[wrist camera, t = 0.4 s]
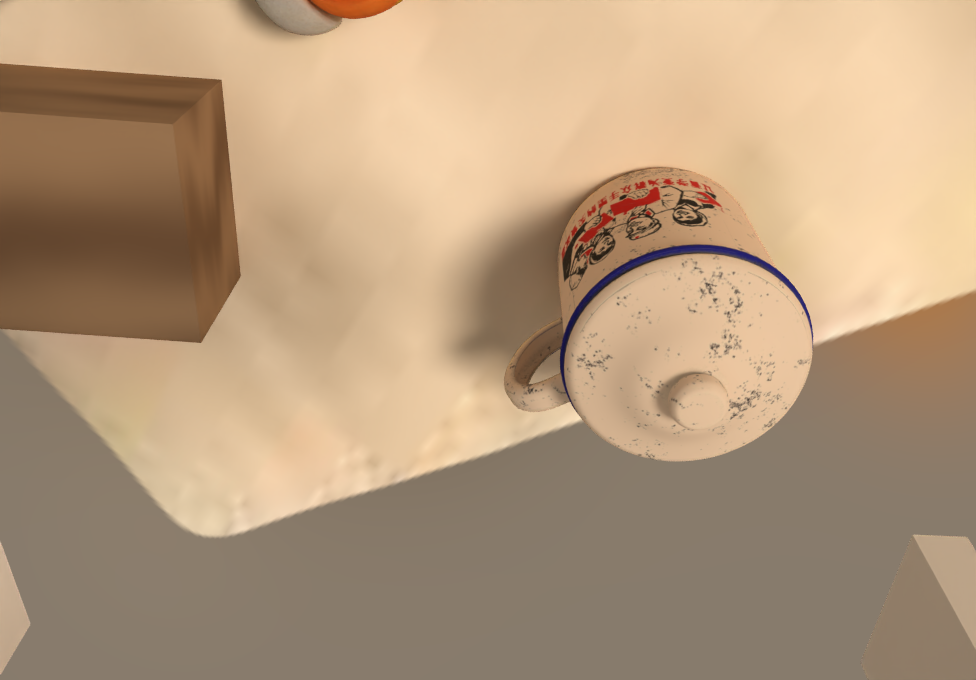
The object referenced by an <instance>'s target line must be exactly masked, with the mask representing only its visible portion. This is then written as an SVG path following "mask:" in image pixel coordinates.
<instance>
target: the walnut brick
mask: <svg viewBox="0 0 976 680" xmlns="http://www.w3.org/2000/svg"><path fill="white" fill-rule="evenodd" d="M240 276H241V275H240V265H239V255H238V245H237V234H236V224H235V214H234V204H233V193H232V183H231V173H230V163H229V153H228V142H227V132H226V122H225V112H224V101H223V91H222V81H221V80H216V79H202V78H189V77H175V76H161V75H148V74H134V73H120V72H107V71H93V70H80V69H66V68H52V67H39V66H25V65H11V64H0V329H12V330H27V331H41V332H55V333H69V334H83V335H98V336H112V337H126V338H140V339H155V340H169V341H183V342H197V343H201V342H202V340H203V339H204V337H205V335H206V334H207V332H208V330H209V329H210V327H211V325H212V324H213V322H214V320H215V319H216V317H217V315H218V313H219V312H220V310H221V308H222V307H223V305H224V303H225V302H226V300H227V298H228V297H229V295H230V293H231V292H232V290H233V288H234V286H235V285H236V283H237V281H238V280H239V278H240Z"/></svg>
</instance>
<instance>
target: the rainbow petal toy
mask: <svg viewBox="0 0 976 680" xmlns="http://www.w3.org/2000/svg"><path fill="white" fill-rule="evenodd" d="M401 1H402V0H256V2H257V3H258V5H259V6H260V8H261V9H262V10H263V12H264V13H265V14H266V15H267V16H268V17H269V18H270V19H271V20H272V21H273V22H274V23H275V24H277V25H278V26H280V27H281V28H283V29H285V30H287V31H289V32H292V33H296V34H300V35H319V34H323V33H326V32H329V31H331V30H333V29H335V28H337V27H338V26H339V25H340V24H341V22H342V17H343V18H349V19H358V18H366V17H371V16H374V15H377V14H379V13H382V12H384V11H386V10H388V9H390V8H392V7H393V6H394V5H397V4H398V3H400V2H401Z"/></svg>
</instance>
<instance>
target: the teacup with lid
mask: <svg viewBox="0 0 976 680" xmlns="http://www.w3.org/2000/svg"><path fill="white" fill-rule="evenodd" d="M557 265H558V279H559V290H560V300H561V311H562V317H561V318H559V319H557V320H555V321H553V322H552V323H550V324H548V325H546V326H545V327H543V328H541V329H540V330H538V331H537V332H536V333H534V334H533V335H532V336H530V337H529V338H528V339H527V340H526V341H525V342H524V343H523V344H522V345H521V346H520V348H519V349H518V350H517V352H516V353H515V354H514V356H513V357H512V359H511V361H510V363H509V365H508V367H507V370H506V373H505V378H504V387H505V391H506V393H507V395H508V397H509V398H510V400H511V401H512V402H513V404H514V405H515V406H516V407H518V408H519V409H521V410H525V411H530V412H540V411H545V410H549V409H553V408H555V407H558V406H561V405H563V404H565V403H567V402H571V404H572V406H573V407H574V409H575V410H576V412H577V413H578V414H579V416H580V417H581V418H582V420H583V421H584V422H585V423H586V424H587V425H588V426H589V427H590V429H592V430H593V431H594V432H595V433H596V434H597V435H599V436H600V437H601V438H603V439H604V440H605V441H607V442H609V443H610V444H612V445H614V446H615V447H618V448H620V449H622V450H624V451H626V452H629V453H631V454H634V455H637V456H641V457H645V458H650V459H655V460H663V461H692V460H700V459H705V458H710V457H714V456H718V455H721V454H724V453H727V452H730V451H732V450H735V449H737V448H740V447H742V446H744V445H746V444H748V443H749V442H751V441H753V440H755V439H756V438H758V437H759V436H761V435H762V434H764V433H765V432H766V431H768V430H769V429H770V428H771V427H773V426H774V425H775V424H776V423H777V422H778V421H779V420H780V419H781V418H782V417H783V416H784V415H785V414H786V413H787V411H788V410H789V409H790V407H791V406H792V405H793V403H794V402H795V400H796V399H797V397H798V395H799V394H800V392H801V390H802V388H803V386H804V384H805V381H806V378H807V376H808V373H809V369H810V365H811V359H812V350H813V331H812V324H811V320H810V316H809V313H808V310H807V308H806V305H805V303H804V301H803V299H802V297H801V295H800V294H799V293H798V291H797V290H796V288H795V287H794V286H793V284H792V283H791V282H790V281H789V280H788V279H787V278H786V277H785V276H784V275H783V274H782V273H781V272H780V271H778V270H777V268H776V267H775V265H774V263H773V261H772V260H771V258H770V256H769V254H768V253H767V251H766V249H765V247H764V246H763V244H762V242H761V240H760V239H759V237H758V235H757V233H756V232H755V230H754V228H753V226H752V225H751V223H750V221H749V219H748V218H747V216H746V214H745V212H744V211H743V209H742V208H741V206H740V205H739V203H738V202H737V201H736V200H735V198H734V197H733V196H732V195H731V194H730V193H729V192H728V191H727V190H725V189H724V188H723V187H722V186H720V185H719V184H717V183H716V182H714V181H712V180H711V179H709V178H707V177H705V176H702V175H700V174H697V173H694V172H691V171H686V170H682V169H674V168H653V169H646V170H640V171H636V172H632V173H629V174H626V175H623V176H621V177H619V178H616V179H614V180H612V181H610V182H609V183H607V184H605V185H603V186H602V187H601V188H599V189H598V190H596V191H595V192H594V193H593V194H591V195H590V196H589V197H588V198H587V199H586V200H585V201H584V202H583V203H582V204H581V205H580V206H579V208H578V209H577V210H576V211H575V213H574V214H573V216H572V217H571V219H570V220H569V222H568V224H567V226H566V228H565V230H564V233H563V235H562V239H561V242H560V246H559V252H558V262H557ZM559 349H561V352H560V370H561V373H559V374H557V375H555V376H553V377H551V378H549V379H546V380H544V381H541V382H538V383H535V384H529V382H530V380H531V377H532V376H533V374H534V372H535V371H536V369H537V368H538V367H539V366H540V364H541V363H542V362H543V361H544V360H545V359H546V358H548V357H549V356H550V355H551V354H553V353H554V352H556V351H557V350H559Z"/></svg>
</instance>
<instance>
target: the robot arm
mask: <svg viewBox="0 0 976 680" xmlns="http://www.w3.org/2000/svg"><path fill="white" fill-rule="evenodd" d="M29 626H30V621H29V618H28V616H27V613H26V611H25V607H24V605H23V602H22V599H21V596H20V594H19V591H18V588H17V586H16V583H15V580H14V578H13V575H12V572H11V569H10V566H9V564H8V561H7V558H6V555H5V553H4V550H3V547H2V544H1V542H0V675H1V673H2V671H3V670H4V668H5V666H6V665H7V663H8V661H9V660H10V658H11V656H12V654H13V653H14V651H15V649H16V648H17V646H18V644H19V643H20V641H21V639H22V638H23V636H24V634H25V632H26V630H27V629H28V627H29ZM861 664H862V667H863V669H864V672H865V674H866V677H867V679H868V680H976V551H975V549H974V548H973V546H972V544H971V543H970V541H969V540H968V538H967V537H953V536H931V535H912V537H911V540H910V542H909V545H908V547H907V550H906V552H905V555H904V557H903V559H902V562H901V565H900V567H899V569H898V572H897V574H896V577H895V579H894V581H893V584H892V586H891V589H890V592H889V594H888V596H887V599H886V601H885V604H884V606H883V608H882V611H881V613H880V616H879V618H878V621H877V623H876V626H875V628H874V631H873V633H872V635H871V638H870V640H869V643H868V645H867V648H866V650H865V653H864V655H863V657H862V660H861Z"/></svg>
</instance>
